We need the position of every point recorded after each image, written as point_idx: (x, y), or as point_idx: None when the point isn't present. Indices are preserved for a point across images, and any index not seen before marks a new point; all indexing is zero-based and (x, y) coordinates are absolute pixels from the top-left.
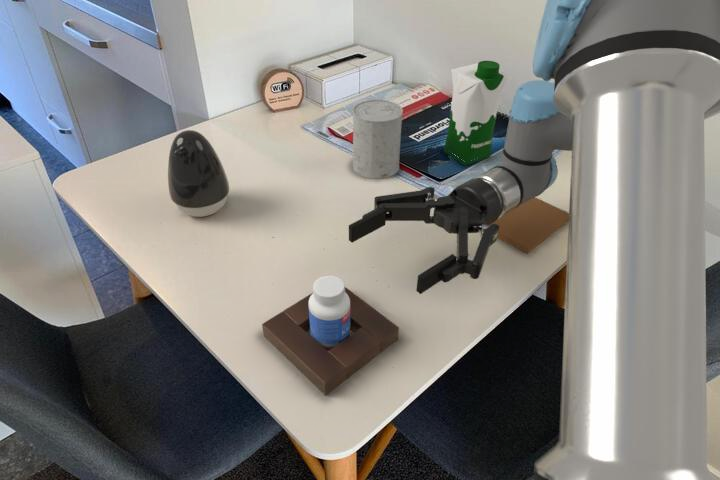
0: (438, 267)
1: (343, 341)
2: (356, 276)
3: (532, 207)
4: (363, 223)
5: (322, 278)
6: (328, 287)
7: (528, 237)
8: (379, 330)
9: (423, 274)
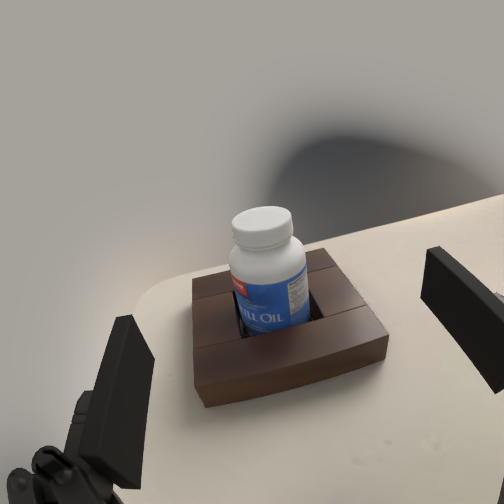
0: (100, 370)
1: (232, 308)
2: (416, 405)
3: None
4: (452, 279)
5: (285, 214)
6: (257, 217)
7: None
8: (214, 357)
9: (122, 326)
